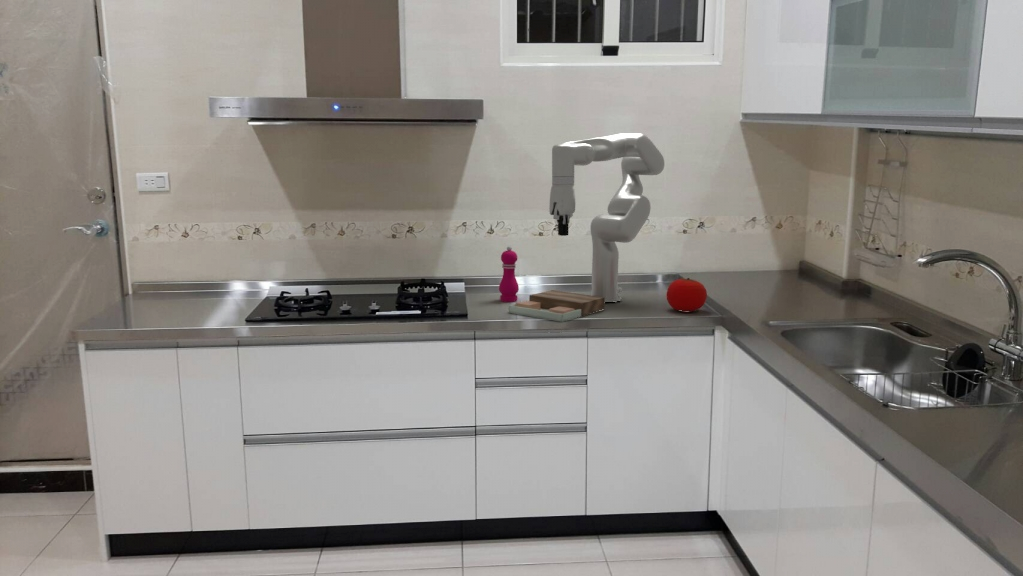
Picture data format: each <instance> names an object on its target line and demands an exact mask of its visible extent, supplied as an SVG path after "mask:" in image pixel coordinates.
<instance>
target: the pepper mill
mask: <svg viewBox="0 0 1023 576" xmlns="http://www.w3.org/2000/svg"><path fill="white" fill-rule="evenodd" d="M500 260H501V262H502V263H501V264H502V267H501V268H503V273H502V278H501V281H500V283H499V286H498V290H499V293H500V294H501V295H500V296H499V298H500V300H499V301H501V302H506V303H513V302H515V303H516V302H517V301H518V295H517V294H518V292H519V289H520V288H519V283H518V280H517V278H516V274H515V273H516V272H515V270H516V269H517V266H516V265H517V264H516V262H517V261H518V254H517V253H516V251H514V250H512V246H510V245H507V247H506V250H505V251H503V252H502V253H501V256H500Z"/></svg>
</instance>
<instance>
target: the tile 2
mask: <svg viewBox="0 0 1023 576" xmlns="http://www.w3.org/2000/svg"><path fill="white" fill-rule="evenodd" d="M571 311H574V309H573V308H567V307H561V306H559V307H555V308H551V309H549V312H554V313H560V314H563V313H567V312H571Z"/></svg>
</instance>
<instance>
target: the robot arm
mask: <svg viewBox="0 0 1023 576" xmlns="http://www.w3.org/2000/svg"><path fill="white" fill-rule="evenodd" d="M551 148H552V150H551V176H552V177H551V189H550V194H549V208H548V209H549V211H548V212H549V214H550V216H553V220H556V223H557V235H558V236H560V237H562V236H563V237H564V236H566V237H567V236H569V224H570V219H571V218H572V217H574V213H575V211H576V193H575V166H577V167H578V166H582V167H583V166H589V165H590V164H592V162H608V161H611V160H616V159H621V158H622V159H621V164H620V166H621V175H622V181H621V182H622V183H621V185H620V186H619V188H618V189H617V191H616V192H615V194H614V195H613V196H612V198H611V199H610V201H609V203H608V205H607V213H608V214H604V213H603V214H598V215H596V216H594V218H593V219H592V220H591V222H590V235H591V242H592V257H591V258H592V260H591V261H592V263H591V264H592V265H591V294H590V295H591V296H598V297H605V302H613V301H619V300H621V301H622V297H621V296H620V295H618V294H619V293H622V292H623V288H622V287H620V286H618V283H619V282H618V280H619V259H620V257H619V253H620V252H619V249H618V247H617V244H616V243H626V244H627V243H630V242H632V241H633V240H634V239H635V238H636V237H637V236H638V234H639V233H640V231H641V229H642V228H643V227H644V225H645V223H646V222H647V221H648V218H649V216H650V213H651V202H650V200H649V198H648V197H647V196H645V195H643V194H644V193H643V192H644V187H643V185H642V184H643V183H642V182H641V179H640V176H657V175H659V174H661V173H662V172H663V170H664V168H665V159H664V156H663V154H662V153H661V151H660V150H659V148H658V147H657V146H656V145H655V144H654V142H653V141H652V140H651V139H650V138H649V137H648V136H647V135H645V134H643V133H639V132H638V133H627V132H626V133H625V132H623V133H617V134H616V133H615V134H612V135H606V136H601V137H600V136H599V137H593V138H589V139H581V140H574V141H567V142H563V143H560V144H554V145H553V146H552V147H551Z"/></svg>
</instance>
